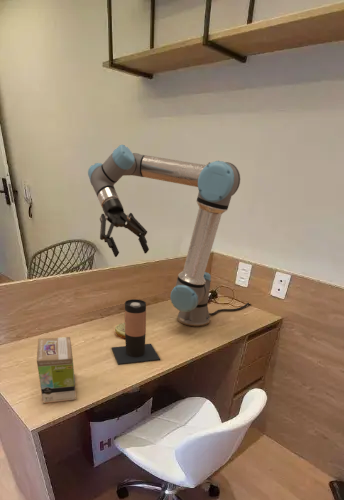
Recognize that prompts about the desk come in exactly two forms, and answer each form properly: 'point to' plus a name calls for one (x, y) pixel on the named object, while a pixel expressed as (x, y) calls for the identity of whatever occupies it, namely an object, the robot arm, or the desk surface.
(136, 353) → the travel mug
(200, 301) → the robot arm
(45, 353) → the tea box
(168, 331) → the desk surface
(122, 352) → the desk mat
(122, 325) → the decorated donut
